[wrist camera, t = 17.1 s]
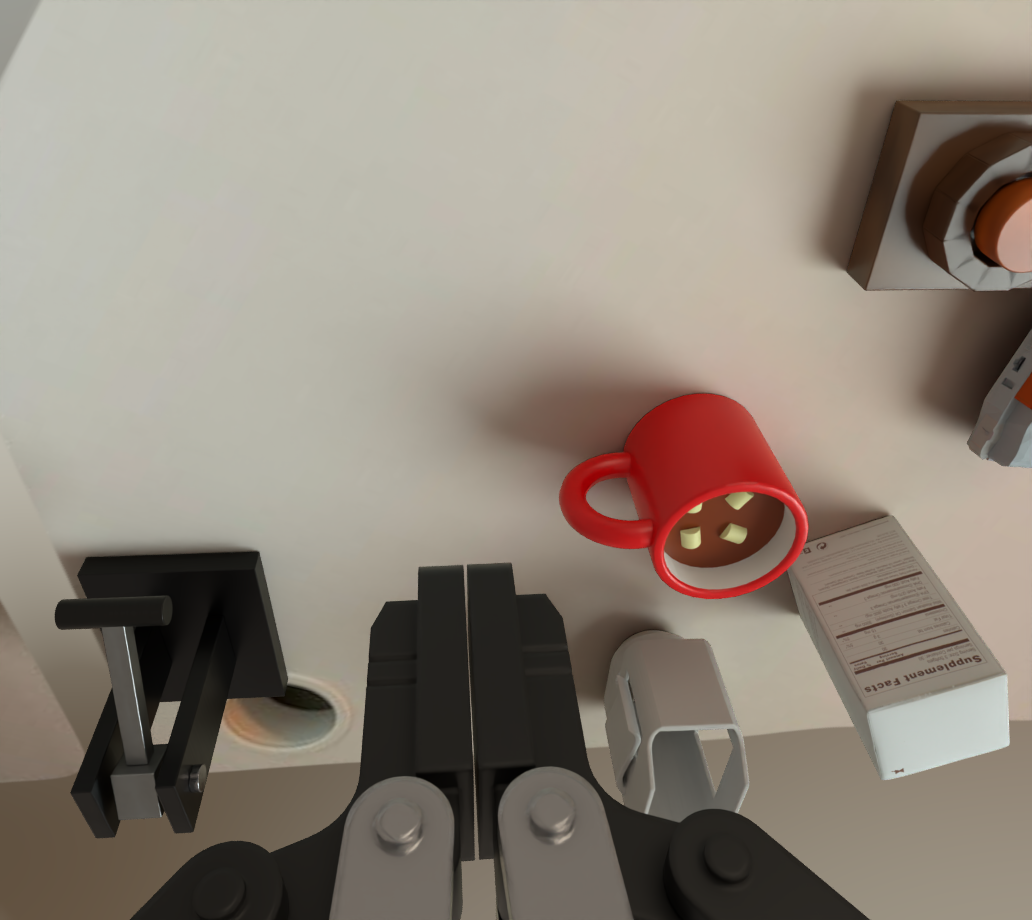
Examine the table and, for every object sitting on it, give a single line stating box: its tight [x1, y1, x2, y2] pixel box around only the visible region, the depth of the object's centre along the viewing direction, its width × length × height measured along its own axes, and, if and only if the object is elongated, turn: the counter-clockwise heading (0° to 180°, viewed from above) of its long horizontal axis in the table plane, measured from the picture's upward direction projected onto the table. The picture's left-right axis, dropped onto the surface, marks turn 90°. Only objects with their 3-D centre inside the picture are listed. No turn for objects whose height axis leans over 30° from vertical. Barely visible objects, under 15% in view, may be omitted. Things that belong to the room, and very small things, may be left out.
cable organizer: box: [604, 630, 749, 822], centre depth 52 cm, size 7×12×12 cm, turn 177°
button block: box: [847, 100, 1032, 291], centre depth 36 cm, size 8×10×4 cm
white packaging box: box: [787, 516, 1010, 780], centre depth 47 cm, size 7×7×13 cm
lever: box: [55, 596, 172, 820], centre depth 40 cm, size 12×5×2 cm, turn 178°
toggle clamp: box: [71, 552, 288, 838], centre depth 45 cm, size 12×10×13 cm
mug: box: [559, 394, 809, 599], centre depth 42 cm, size 8×12×8 cm, turn 92°
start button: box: [974, 177, 1032, 273], centre depth 34 cm, size 4×4×2 cm
